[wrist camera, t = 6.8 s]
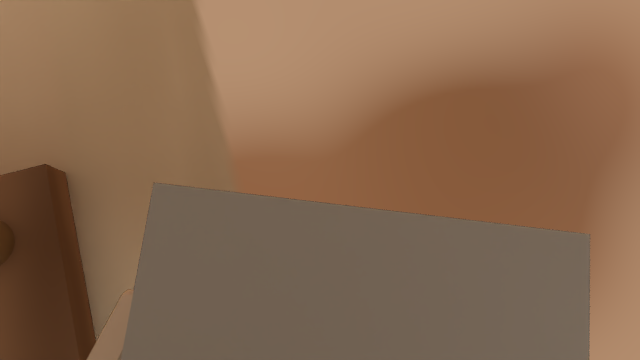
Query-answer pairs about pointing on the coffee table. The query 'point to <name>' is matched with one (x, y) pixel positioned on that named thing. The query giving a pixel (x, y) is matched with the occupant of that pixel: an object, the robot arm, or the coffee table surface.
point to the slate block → (350, 284)
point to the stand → (41, 270)
